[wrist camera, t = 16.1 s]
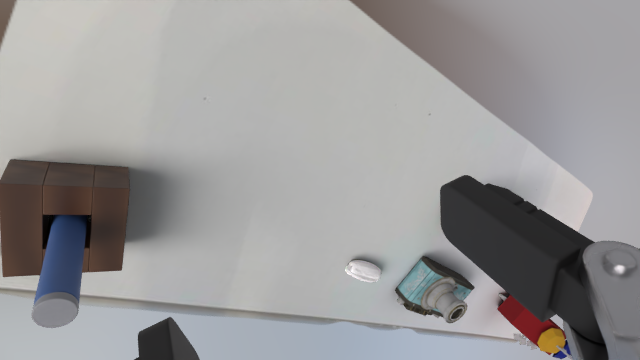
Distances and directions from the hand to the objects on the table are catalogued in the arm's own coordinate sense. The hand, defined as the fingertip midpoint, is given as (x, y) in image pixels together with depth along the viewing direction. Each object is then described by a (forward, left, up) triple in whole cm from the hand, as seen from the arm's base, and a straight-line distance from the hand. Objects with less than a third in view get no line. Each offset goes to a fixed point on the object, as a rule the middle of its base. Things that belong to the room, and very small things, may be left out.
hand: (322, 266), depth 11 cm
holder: (-8, -20, -36) cm, 42 cm away
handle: (-8, -20, -36) cm, 42 cm away
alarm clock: (+85, -46, -36) cm, 103 cm away
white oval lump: (+35, -31, -36) cm, 59 cm away
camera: (+54, -37, -36) cm, 75 cm away
